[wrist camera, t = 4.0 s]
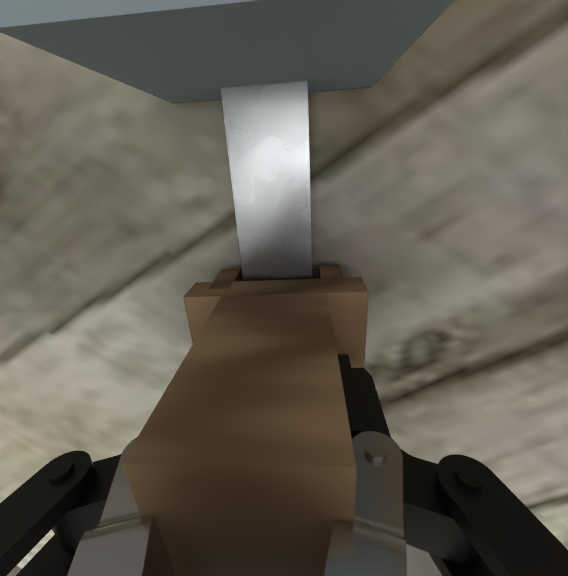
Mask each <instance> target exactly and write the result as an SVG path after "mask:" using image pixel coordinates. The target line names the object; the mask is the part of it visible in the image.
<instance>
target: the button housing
mask: <svg viewBox="0 0 568 576" xmlns="http://www.w3.org/2000/svg"><path fill="white" fill-rule="evenodd" d="M453 1H454V0H0V32H1V33H4V34H6V35H8V36H11V37H13V38H16V39H18V40H21V41H23V42H25V43H28V44H30V45H33V46H35V47H38V48H40V49H42V50H45V51H47V52H50V53H52V54H55V55H57V56H59V57H62V58H64V59H67V60H69V61H72V62H74V63H77V64H79V65H81V66H84V67H86V68H89V69H91V70H94V71H96V72H98V73H101V74H103V75H106V76H108V77H111V78H113V79H115V80H118V81H120V82H123V83H125V84H128V85H130V86H132V87H135V88H137V89H140V90H142V91H145V92H147V93H149V94H152V95H154V96H157V97H159V98H162V99H164V100H167V101H169V102H171V103H181V102H194V101H206V100H219V99H222V97H221V89H220V88H229V87H241V86H253V85H265V84H276V83H288V82H300V81H308V92H318V91H330V90H342V89H355V88H367V87H372V86H373V85H374V84H375V83H376V82H377V80H378V79H379V78H380V77H381V76H382V75H383V74H384V73H385V72H386V71H387V70H388V69H389V68H390V67H391V66H392V65H393V64H394V63H395V62H396V61H397V60H398V59H399V58H400V56H401V55H402V54H403V53H404V52H405V51H406V50H407V49H408V48H409V47H410V46H411V45H412V44H413V43H414V42H415V41H416V40H417V39H418V38H419V37H420V36H421V35H422V33H423V32H424V31H425V30H426V29H427V28H428V27H429V26H430V25H431V24H432V23H433V22H434V21H435V20H436V19H437V18H438V17H439V16H440V15H441V14H442V13H443V12H444V10H445V9H446V8H447V7H448V6H449V5H450V4H451V3H452V2H453Z"/></svg>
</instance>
